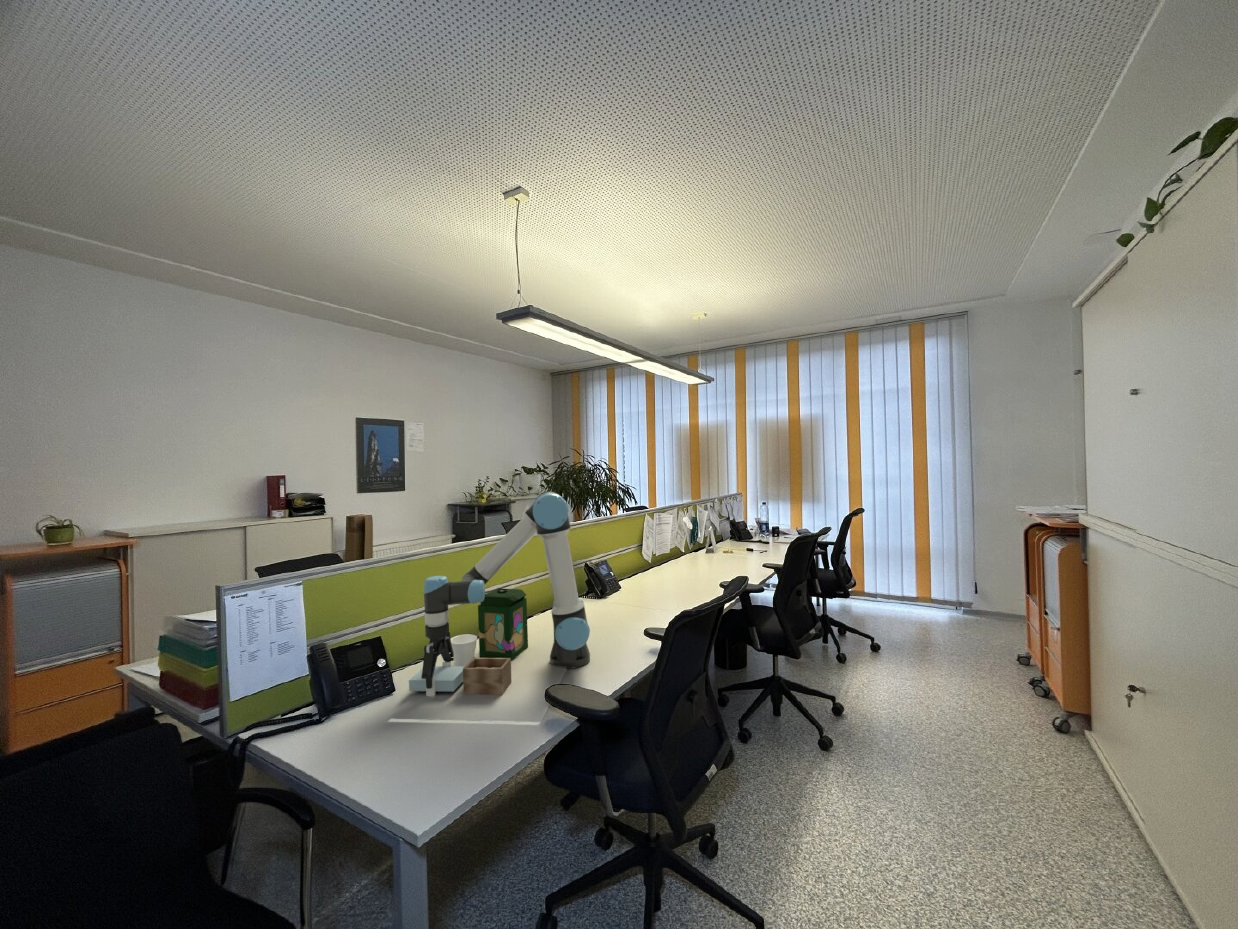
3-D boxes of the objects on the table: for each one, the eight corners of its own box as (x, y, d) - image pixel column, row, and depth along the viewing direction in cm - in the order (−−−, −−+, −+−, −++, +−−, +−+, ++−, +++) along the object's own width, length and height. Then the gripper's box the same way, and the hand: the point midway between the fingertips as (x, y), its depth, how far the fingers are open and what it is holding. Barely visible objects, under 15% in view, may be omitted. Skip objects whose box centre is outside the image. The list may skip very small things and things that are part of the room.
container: (495, 643, 206) (493, 584, 206) (533, 647, 201) (531, 586, 201) (475, 657, 192) (473, 593, 192) (516, 661, 187) (513, 595, 187)
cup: (470, 675, 176) (469, 644, 176) (444, 673, 178) (443, 643, 178) (483, 663, 185) (482, 634, 185) (459, 662, 187) (458, 633, 187)
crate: (511, 684, 167) (510, 658, 167) (502, 697, 158) (501, 669, 158) (474, 684, 168) (473, 657, 168) (463, 696, 159) (462, 668, 159)
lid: (467, 676, 170) (467, 666, 170) (453, 691, 159) (453, 680, 159) (425, 676, 171) (425, 666, 171) (409, 691, 160) (408, 680, 160)
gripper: (442, 612, 177) (444, 673, 177) (407, 635, 153) (410, 706, 154) (462, 612, 176) (464, 673, 176) (430, 635, 153) (433, 706, 153)
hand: (439, 688), depth 165 cm, fingers closed on lid, 11 cm apart
